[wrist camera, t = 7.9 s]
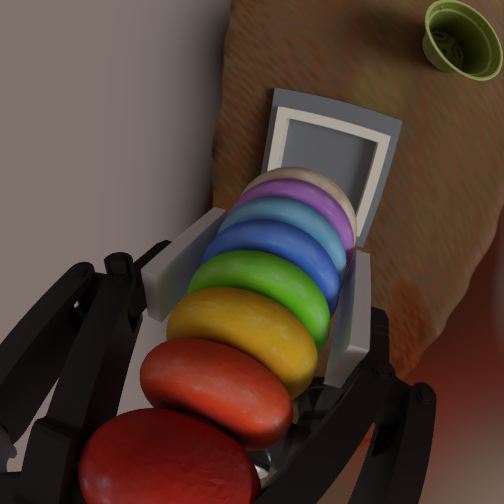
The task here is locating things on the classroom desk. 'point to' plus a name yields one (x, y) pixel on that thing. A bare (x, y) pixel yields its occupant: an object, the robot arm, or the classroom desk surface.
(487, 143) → the classroom desk surface
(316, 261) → the stacking toy
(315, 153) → the board
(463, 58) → the plant pot
